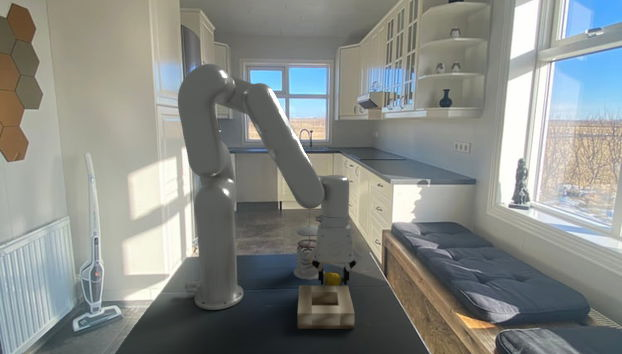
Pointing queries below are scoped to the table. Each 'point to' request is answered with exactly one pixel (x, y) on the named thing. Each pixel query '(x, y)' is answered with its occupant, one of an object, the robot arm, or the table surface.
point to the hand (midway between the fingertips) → (333, 282)
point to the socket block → (325, 308)
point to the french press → (306, 253)
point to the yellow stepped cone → (333, 279)
